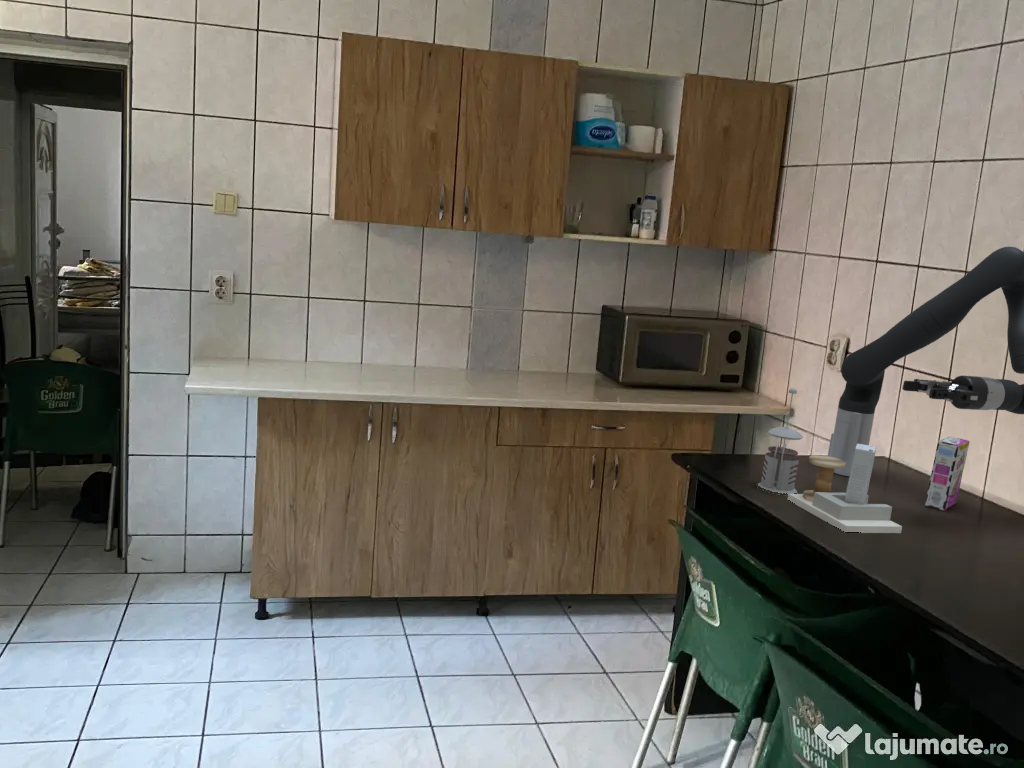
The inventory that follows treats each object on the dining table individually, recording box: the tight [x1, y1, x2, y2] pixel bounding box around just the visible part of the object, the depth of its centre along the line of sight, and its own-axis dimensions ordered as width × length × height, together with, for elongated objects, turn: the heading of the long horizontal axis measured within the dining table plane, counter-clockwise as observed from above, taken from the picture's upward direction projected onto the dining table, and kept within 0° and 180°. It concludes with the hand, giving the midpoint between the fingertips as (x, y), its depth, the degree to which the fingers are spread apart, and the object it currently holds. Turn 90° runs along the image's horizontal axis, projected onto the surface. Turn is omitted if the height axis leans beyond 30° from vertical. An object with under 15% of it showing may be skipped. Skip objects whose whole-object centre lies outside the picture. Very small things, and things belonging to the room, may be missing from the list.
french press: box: [757, 387, 804, 494], centre depth 221 cm, size 10×12×25 cm
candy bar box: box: [924, 436, 970, 512], centre depth 224 cm, size 11×5×16 cm, turn 141°
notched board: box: [787, 491, 903, 534], centre depth 206 cm, size 22×14×4 cm, turn 16°
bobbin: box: [802, 454, 846, 502], centre depth 212 cm, size 8×8×10 cm
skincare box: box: [845, 444, 877, 504], centre depth 203 cm, size 6×4×12 cm
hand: (917, 389), depth 203 cm, fingers open, 8 cm apart
